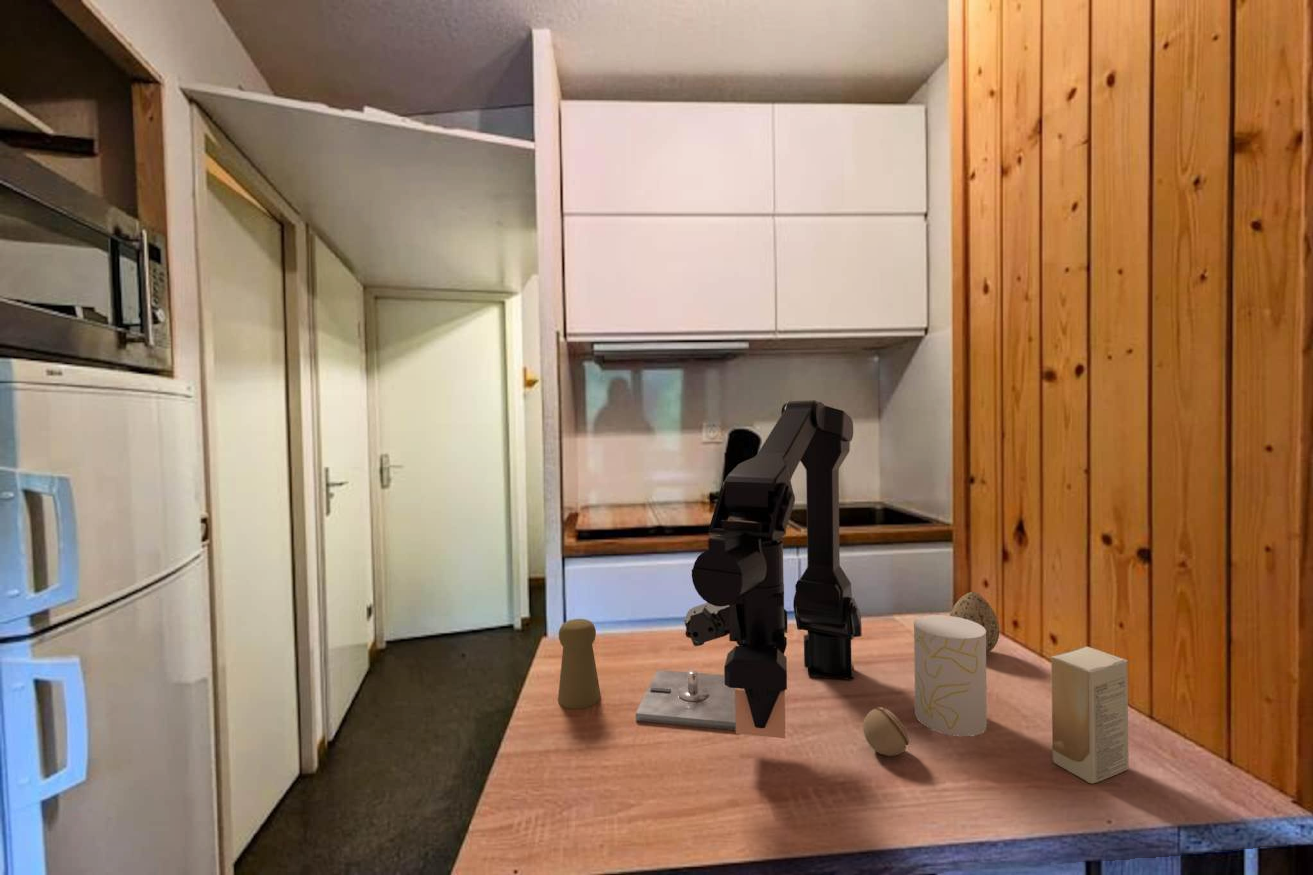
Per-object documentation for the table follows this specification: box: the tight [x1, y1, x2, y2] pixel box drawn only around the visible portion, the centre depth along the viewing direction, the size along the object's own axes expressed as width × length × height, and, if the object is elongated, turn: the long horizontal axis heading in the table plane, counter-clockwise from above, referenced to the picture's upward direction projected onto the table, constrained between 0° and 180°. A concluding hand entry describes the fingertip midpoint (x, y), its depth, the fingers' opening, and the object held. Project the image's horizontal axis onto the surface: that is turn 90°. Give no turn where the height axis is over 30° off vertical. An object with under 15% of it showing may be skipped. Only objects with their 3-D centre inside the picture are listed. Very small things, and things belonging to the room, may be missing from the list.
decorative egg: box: [949, 591, 1000, 654], centre depth 93 cm, size 7×7×10 cm
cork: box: [557, 618, 602, 710], centre depth 81 cm, size 6×6×11 cm
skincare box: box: [1050, 646, 1130, 784], centre depth 63 cm, size 6×4×12 cm
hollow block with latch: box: [735, 688, 786, 739], centre depth 67 cm, size 5×5×5 cm
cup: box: [913, 614, 988, 737], centre depth 73 cm, size 8×8×12 cm
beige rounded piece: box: [862, 706, 910, 757], centre depth 67 cm, size 5×5×5 cm
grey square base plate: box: [635, 669, 736, 731], centre depth 80 cm, size 13×13×4 cm
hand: (761, 714), depth 67 cm, fingers closed on hollow block with latch, 5 cm apart
